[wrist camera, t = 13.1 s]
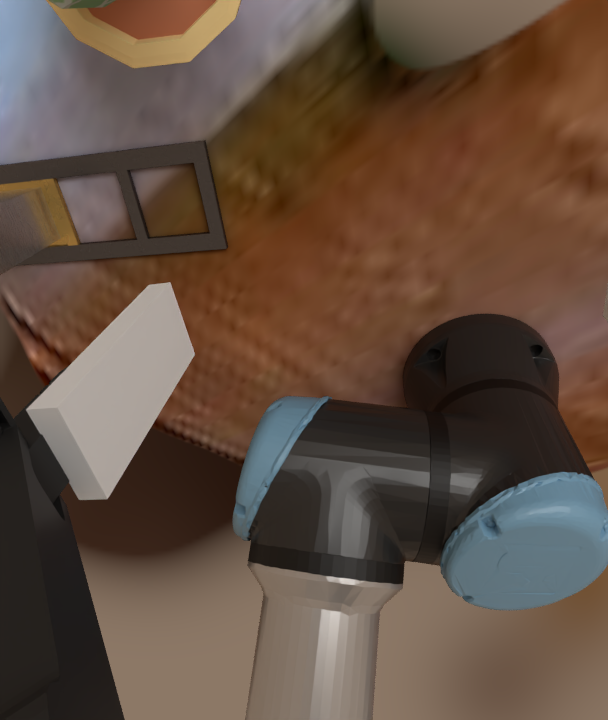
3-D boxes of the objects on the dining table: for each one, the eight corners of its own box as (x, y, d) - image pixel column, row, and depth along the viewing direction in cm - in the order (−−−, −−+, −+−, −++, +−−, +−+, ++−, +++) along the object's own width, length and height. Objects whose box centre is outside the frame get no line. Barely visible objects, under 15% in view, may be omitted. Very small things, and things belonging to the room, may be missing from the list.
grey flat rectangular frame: (228, 246, 47) (226, 248, 47) (11, 264, 51) (8, 266, 51) (205, 140, 42) (203, 141, 42) (-34, 169, 46) (-38, 170, 46)
